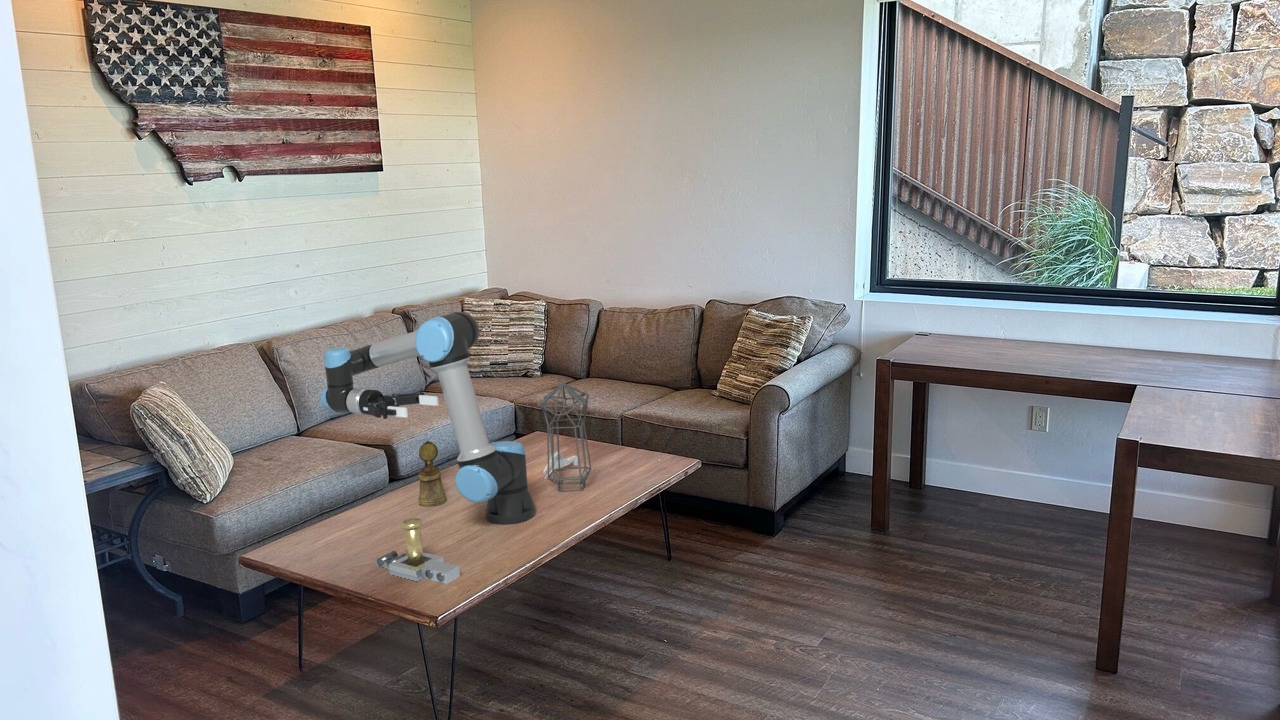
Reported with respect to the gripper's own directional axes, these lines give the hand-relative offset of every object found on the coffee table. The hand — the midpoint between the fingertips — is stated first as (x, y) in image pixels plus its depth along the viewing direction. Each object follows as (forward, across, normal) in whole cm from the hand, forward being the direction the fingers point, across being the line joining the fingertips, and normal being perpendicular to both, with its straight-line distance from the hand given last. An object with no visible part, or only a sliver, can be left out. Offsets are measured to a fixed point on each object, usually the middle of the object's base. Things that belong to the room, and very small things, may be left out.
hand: (422, 406), depth 267 cm
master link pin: (+14, +25, -38) cm, 47 cm away
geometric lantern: (+18, -48, -38) cm, 64 cm away
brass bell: (-19, -22, -38) cm, 48 cm away
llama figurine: (+7, -60, -38) cm, 71 cm away
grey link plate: (+14, +25, -38) cm, 47 cm away
